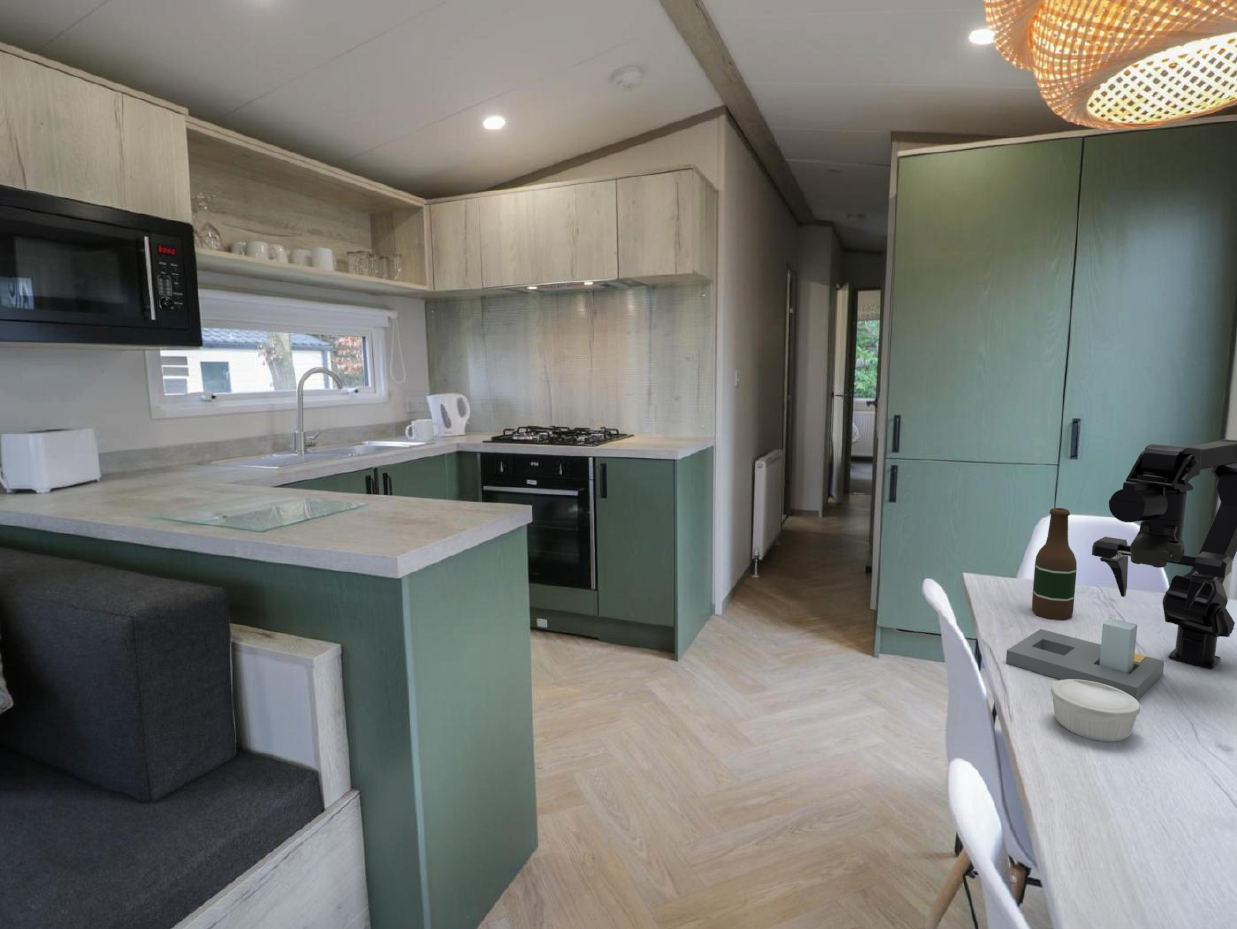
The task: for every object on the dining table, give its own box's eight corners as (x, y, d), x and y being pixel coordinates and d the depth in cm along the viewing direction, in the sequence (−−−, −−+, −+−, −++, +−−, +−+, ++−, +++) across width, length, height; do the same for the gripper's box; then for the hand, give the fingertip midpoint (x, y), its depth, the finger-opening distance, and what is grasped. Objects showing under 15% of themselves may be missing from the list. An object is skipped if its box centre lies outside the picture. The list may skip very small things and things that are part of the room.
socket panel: (1039, 640, 138) (1040, 628, 137) (1162, 674, 122) (1164, 659, 122) (1005, 662, 128) (1006, 649, 127) (1135, 702, 112) (1137, 686, 112)
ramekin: (1135, 721, 107) (1138, 689, 106) (1139, 755, 97) (1142, 720, 97) (1050, 702, 113) (1052, 672, 112) (1047, 732, 104) (1049, 700, 103)
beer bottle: (1071, 623, 146) (1080, 514, 143) (1029, 616, 151) (1037, 509, 148) (1074, 613, 153) (1082, 507, 149) (1033, 606, 157) (1041, 504, 154)
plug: (1105, 671, 124) (1110, 618, 122) (1132, 678, 121) (1137, 624, 119) (1098, 677, 121) (1103, 623, 120) (1125, 685, 118) (1130, 630, 117)
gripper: (1084, 515, 121) (1077, 599, 123) (1222, 533, 107) (1211, 629, 109) (1105, 506, 128) (1098, 586, 130) (1237, 523, 114) (1227, 612, 116)
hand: (1154, 602), depth 121 cm, fingers open, 9 cm apart
